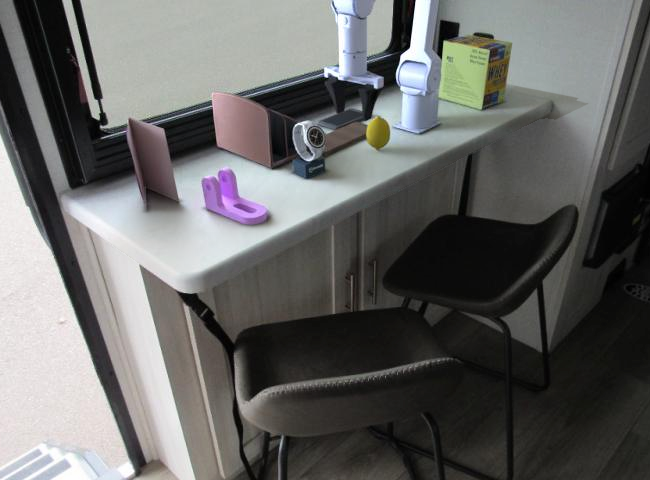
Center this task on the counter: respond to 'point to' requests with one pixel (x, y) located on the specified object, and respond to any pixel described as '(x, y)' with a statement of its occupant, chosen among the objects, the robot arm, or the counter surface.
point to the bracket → (230, 199)
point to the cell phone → (342, 119)
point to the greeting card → (151, 158)
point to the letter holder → (253, 130)
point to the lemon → (378, 133)
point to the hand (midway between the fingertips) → (353, 115)
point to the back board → (343, 137)
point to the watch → (316, 142)
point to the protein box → (474, 71)
